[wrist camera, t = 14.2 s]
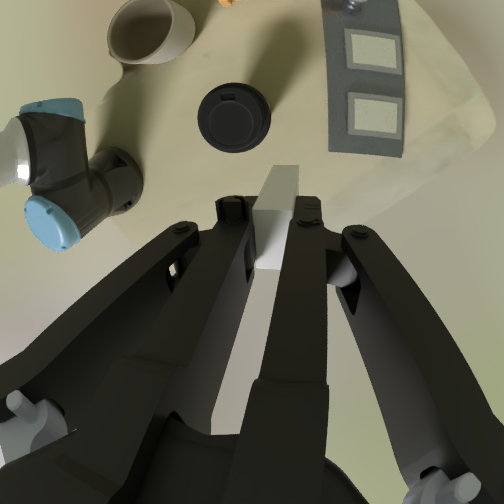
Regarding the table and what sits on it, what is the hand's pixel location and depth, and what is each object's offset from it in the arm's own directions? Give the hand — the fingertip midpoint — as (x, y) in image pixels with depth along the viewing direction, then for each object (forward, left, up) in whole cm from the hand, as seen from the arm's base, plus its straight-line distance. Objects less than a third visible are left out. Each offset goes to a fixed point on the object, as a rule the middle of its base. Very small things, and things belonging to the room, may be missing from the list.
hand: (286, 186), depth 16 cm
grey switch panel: (+11, +11, -32) cm, 35 cm away
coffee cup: (-8, +3, -32) cm, 33 cm away
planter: (-22, +20, -32) cm, 44 cm away
